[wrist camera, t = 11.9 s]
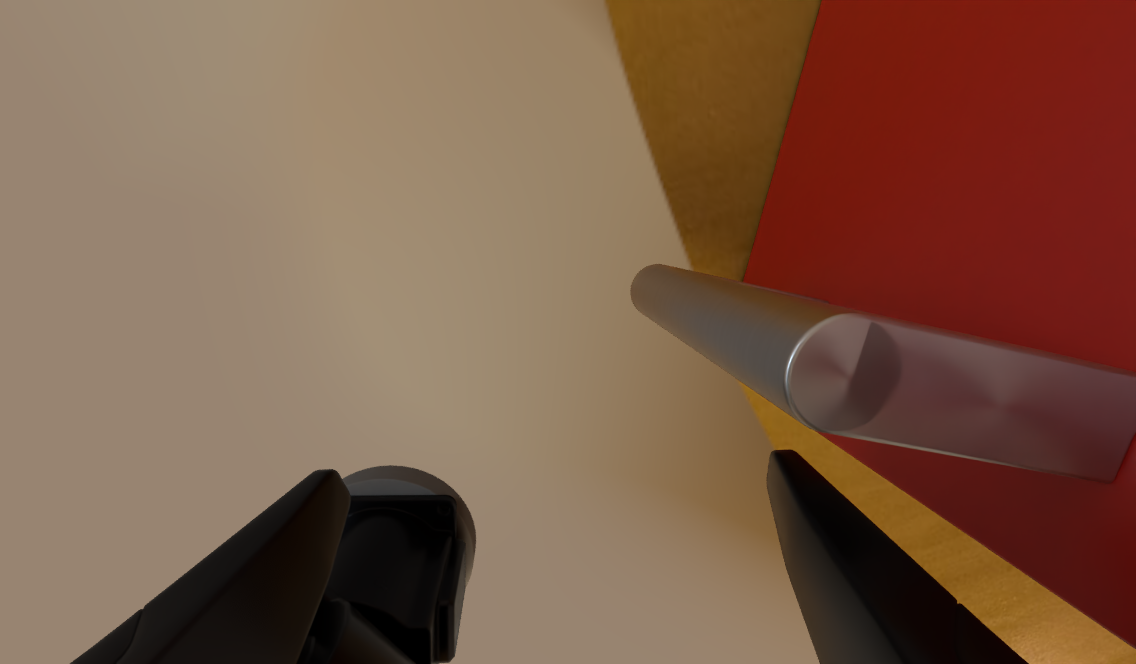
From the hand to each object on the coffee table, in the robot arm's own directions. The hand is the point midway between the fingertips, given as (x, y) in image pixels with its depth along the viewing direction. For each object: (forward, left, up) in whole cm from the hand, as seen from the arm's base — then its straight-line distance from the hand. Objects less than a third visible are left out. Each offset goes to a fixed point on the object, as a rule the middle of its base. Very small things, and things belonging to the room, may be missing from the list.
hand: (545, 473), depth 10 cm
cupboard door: (+8, +13, -11) cm, 19 cm away
